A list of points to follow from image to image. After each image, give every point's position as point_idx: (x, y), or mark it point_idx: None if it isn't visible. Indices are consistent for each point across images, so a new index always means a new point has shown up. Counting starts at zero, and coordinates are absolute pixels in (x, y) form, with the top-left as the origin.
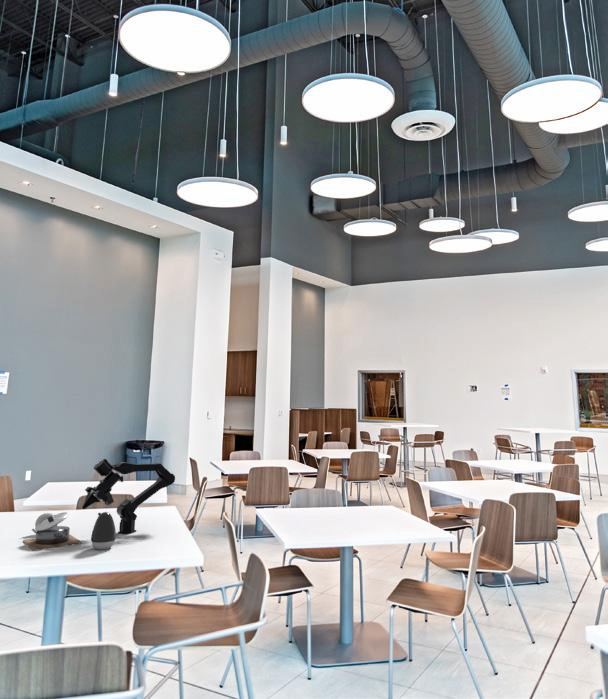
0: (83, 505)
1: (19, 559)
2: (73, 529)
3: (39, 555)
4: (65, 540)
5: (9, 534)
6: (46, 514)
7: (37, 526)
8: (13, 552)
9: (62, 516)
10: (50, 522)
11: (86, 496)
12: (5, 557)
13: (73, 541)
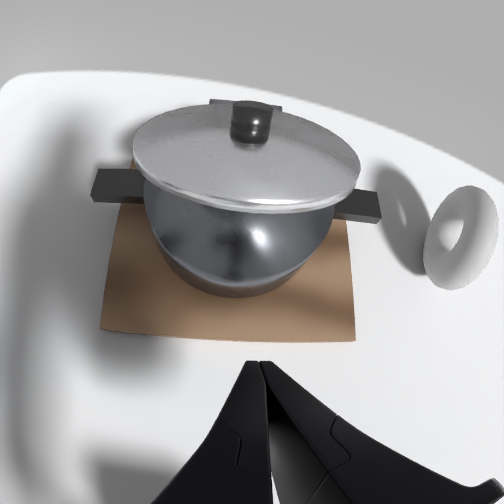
0: (255, 375)
1: (71, 93)
2: (460, 385)
3: (59, 135)
4: (164, 257)
5: (455, 165)
6: (479, 205)
7: (282, 114)
8: (169, 89)
9: (204, 164)
10: (222, 128)
11: (391, 456)
12: (126, 72)
13: (145, 298)
